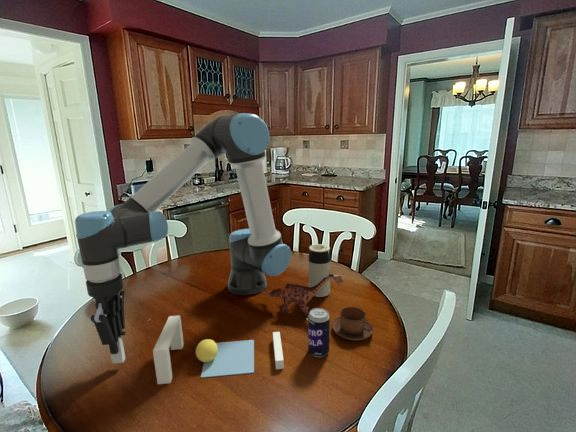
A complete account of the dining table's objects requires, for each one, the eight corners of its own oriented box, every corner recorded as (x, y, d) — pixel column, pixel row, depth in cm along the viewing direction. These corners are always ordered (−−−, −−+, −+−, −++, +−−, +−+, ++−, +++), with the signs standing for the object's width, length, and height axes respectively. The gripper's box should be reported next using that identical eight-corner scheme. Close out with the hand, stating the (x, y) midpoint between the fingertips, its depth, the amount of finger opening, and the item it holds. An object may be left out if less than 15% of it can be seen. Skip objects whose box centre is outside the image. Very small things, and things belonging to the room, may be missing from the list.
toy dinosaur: (340, 325, 96) (341, 281, 93) (252, 310, 106) (250, 269, 102) (344, 311, 104) (346, 270, 101) (262, 298, 114) (261, 260, 110)
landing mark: (253, 340, 90) (253, 339, 90) (254, 372, 78) (254, 372, 78) (208, 344, 89) (208, 343, 89) (200, 377, 76) (200, 377, 76)
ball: (193, 346, 84) (211, 356, 86) (189, 360, 79) (208, 370, 80) (205, 331, 84) (223, 341, 85) (202, 344, 78) (220, 354, 79)
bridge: (183, 344, 89) (180, 315, 87) (170, 383, 75) (166, 349, 73) (172, 345, 89) (169, 316, 86) (157, 384, 75) (152, 350, 72)
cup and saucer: (374, 324, 97) (375, 306, 96) (371, 348, 86) (372, 328, 85) (336, 317, 101) (336, 300, 99) (328, 340, 90) (328, 321, 88)
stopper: (279, 339, 90) (279, 331, 90) (283, 368, 79) (283, 360, 78) (273, 339, 90) (272, 332, 90) (275, 369, 79) (275, 360, 78)
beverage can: (306, 346, 87) (306, 307, 84) (326, 344, 88) (327, 306, 85) (309, 360, 82) (309, 319, 79) (331, 358, 82) (331, 318, 79)
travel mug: (305, 295, 115) (305, 249, 111) (312, 286, 122) (312, 242, 118) (326, 299, 112) (327, 252, 108) (332, 289, 119) (332, 245, 115)
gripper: (100, 266, 80) (114, 345, 86) (71, 290, 68) (90, 381, 73) (130, 264, 81) (142, 343, 87) (108, 287, 68) (123, 378, 74)
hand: (118, 360), depth 80 cm, fingers closed
